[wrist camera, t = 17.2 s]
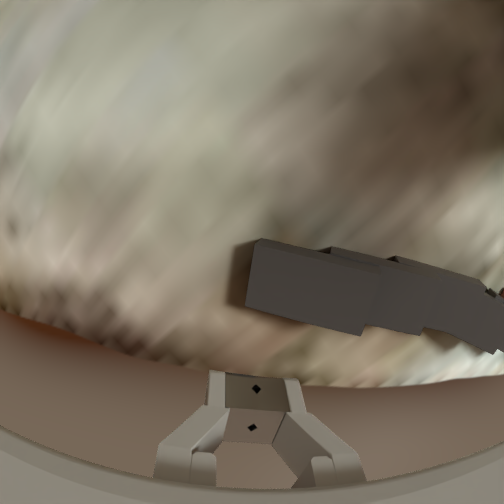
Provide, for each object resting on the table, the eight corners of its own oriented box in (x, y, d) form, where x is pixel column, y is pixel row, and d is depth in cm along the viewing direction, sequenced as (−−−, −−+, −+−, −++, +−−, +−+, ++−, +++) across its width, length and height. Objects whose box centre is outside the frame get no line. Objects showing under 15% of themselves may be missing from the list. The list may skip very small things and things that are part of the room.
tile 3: (379, 316, 22) (464, 336, 20) (399, 262, 20) (486, 287, 19) (377, 306, 23) (459, 326, 22) (395, 255, 22) (479, 279, 20)
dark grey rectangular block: (244, 306, 21) (360, 336, 19) (254, 244, 19) (381, 275, 18) (251, 296, 22) (360, 324, 20) (261, 238, 21) (379, 266, 19)
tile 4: (434, 326, 22) (493, 354, 21) (460, 281, 21) (518, 315, 20) (429, 318, 24) (487, 346, 23) (454, 274, 22) (511, 308, 21)
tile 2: (315, 312, 21) (419, 335, 19) (330, 252, 20) (441, 280, 18) (317, 302, 23) (416, 325, 21) (331, 246, 21) (435, 272, 19)
